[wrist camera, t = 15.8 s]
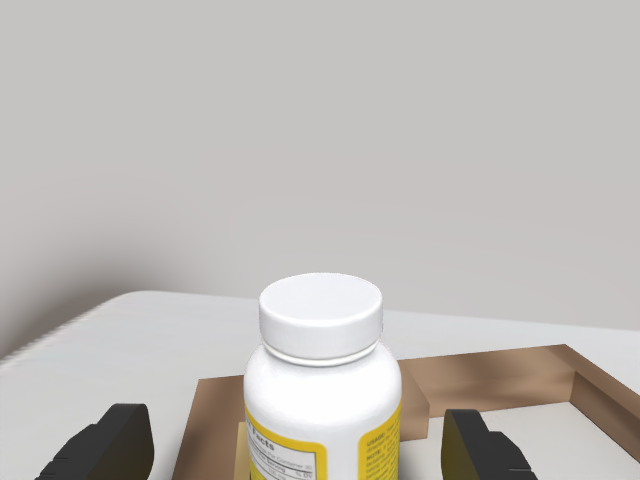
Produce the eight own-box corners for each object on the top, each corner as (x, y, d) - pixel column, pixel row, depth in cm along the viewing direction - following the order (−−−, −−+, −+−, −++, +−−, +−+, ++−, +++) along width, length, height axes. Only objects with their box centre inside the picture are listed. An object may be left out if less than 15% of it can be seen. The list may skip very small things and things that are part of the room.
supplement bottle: (371, 457, 18) (377, 260, 15) (418, 590, 12) (440, 326, 10) (255, 474, 17) (240, 269, 14) (254, 623, 12) (229, 346, 9)
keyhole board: (560, 372, 24) (565, 341, 23) (941, 676, 10) (977, 622, 10) (202, 410, 21) (198, 376, 20) (90, 899, 7) (68, 842, 7)
